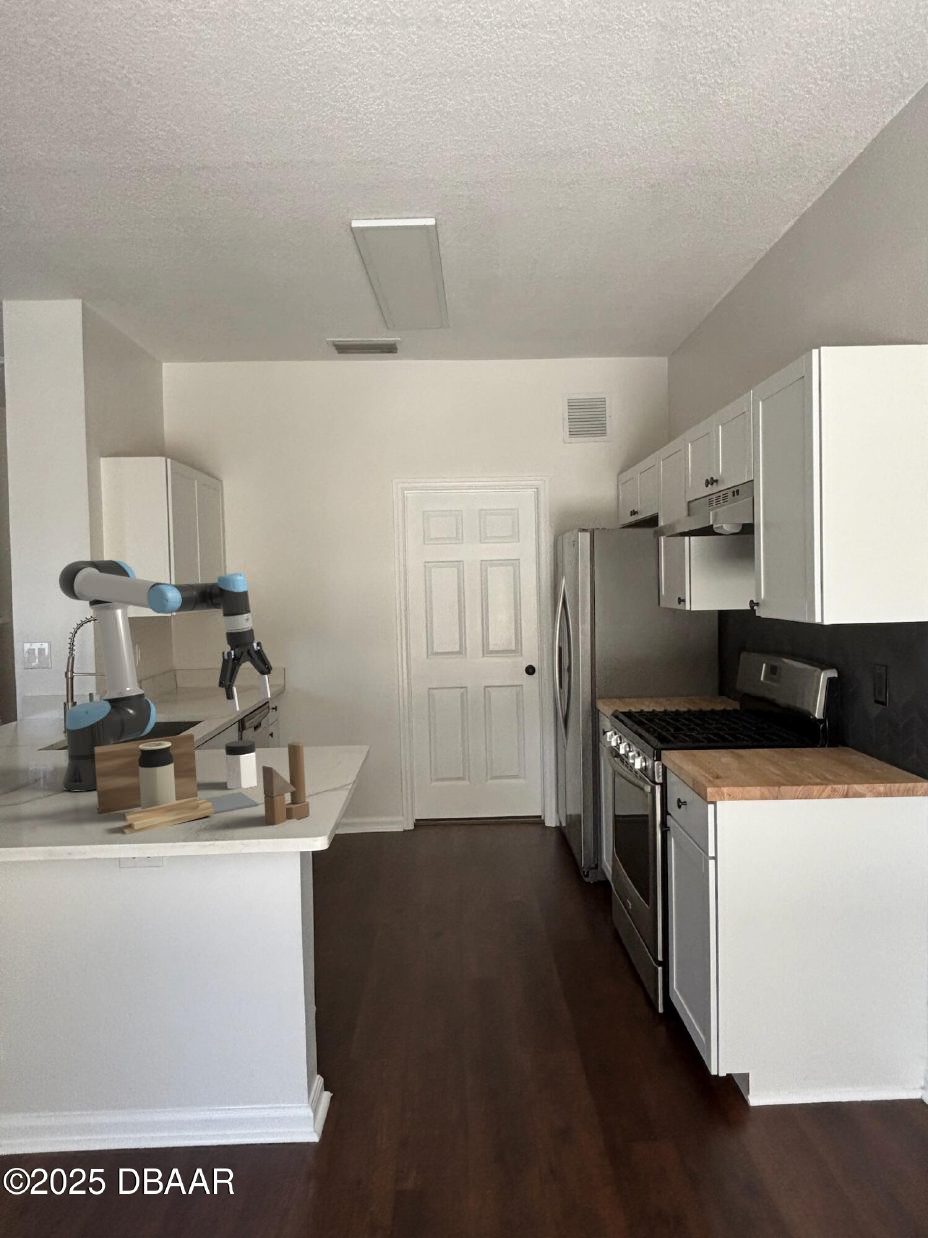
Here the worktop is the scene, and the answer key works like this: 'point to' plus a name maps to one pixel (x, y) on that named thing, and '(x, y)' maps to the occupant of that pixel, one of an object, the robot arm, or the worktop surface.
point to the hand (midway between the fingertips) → (250, 703)
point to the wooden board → (122, 772)
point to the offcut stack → (166, 815)
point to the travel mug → (156, 774)
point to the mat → (230, 802)
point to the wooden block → (286, 789)
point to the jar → (241, 764)
